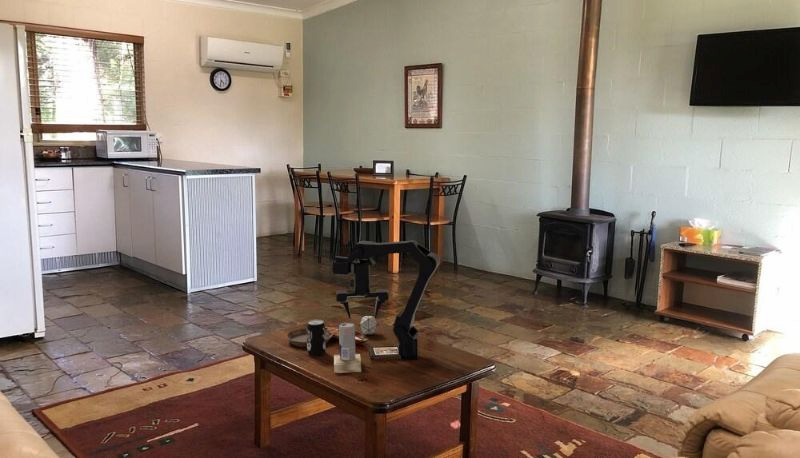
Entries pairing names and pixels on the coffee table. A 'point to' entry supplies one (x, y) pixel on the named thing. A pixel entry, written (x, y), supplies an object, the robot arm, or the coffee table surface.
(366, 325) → the game die
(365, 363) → the coffee table surface
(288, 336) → the plant saucer
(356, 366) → the plinth
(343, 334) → the energy drink
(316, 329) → the beverage can
